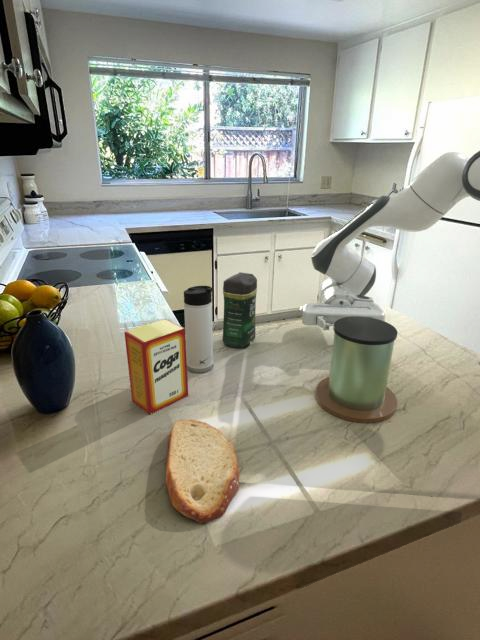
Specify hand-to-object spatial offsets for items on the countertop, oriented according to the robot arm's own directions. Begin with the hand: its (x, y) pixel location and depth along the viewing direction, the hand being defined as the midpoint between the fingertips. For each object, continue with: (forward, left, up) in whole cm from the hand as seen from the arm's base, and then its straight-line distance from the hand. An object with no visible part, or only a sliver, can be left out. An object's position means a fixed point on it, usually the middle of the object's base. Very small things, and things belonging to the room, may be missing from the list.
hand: (346, 328), depth 95 cm
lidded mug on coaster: (0, +17, -8) cm, 19 cm away
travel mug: (+34, +5, -10) cm, 36 cm away
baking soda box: (+40, +19, -10) cm, 45 cm away
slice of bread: (+29, +38, -10) cm, 49 cm away
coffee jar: (+26, -10, -10) cm, 29 cm away
